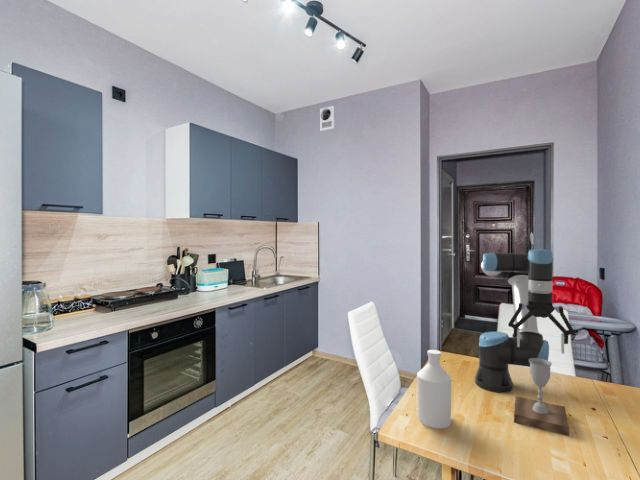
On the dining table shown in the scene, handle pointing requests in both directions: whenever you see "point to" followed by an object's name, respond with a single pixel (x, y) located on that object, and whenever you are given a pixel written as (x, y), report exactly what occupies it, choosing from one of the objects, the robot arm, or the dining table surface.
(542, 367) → the chalice
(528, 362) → the robot arm
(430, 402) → the bottle
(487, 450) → the dining table surface
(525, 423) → the plinth
